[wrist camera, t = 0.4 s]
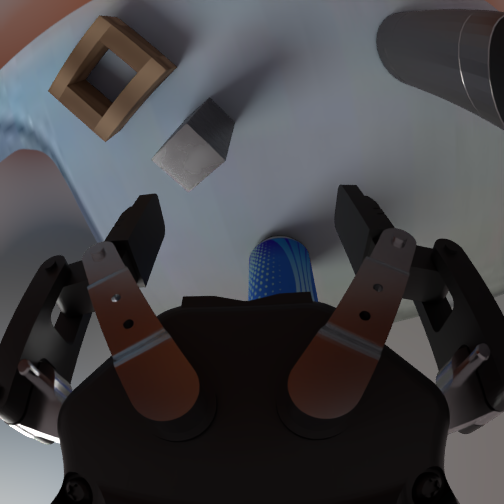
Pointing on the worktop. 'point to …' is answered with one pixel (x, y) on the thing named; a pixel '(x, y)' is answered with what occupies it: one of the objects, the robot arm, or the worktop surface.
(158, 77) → the wooden square frame
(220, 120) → the peg
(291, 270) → the beer can
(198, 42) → the worktop surface
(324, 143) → the worktop surface
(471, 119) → the worktop surface
